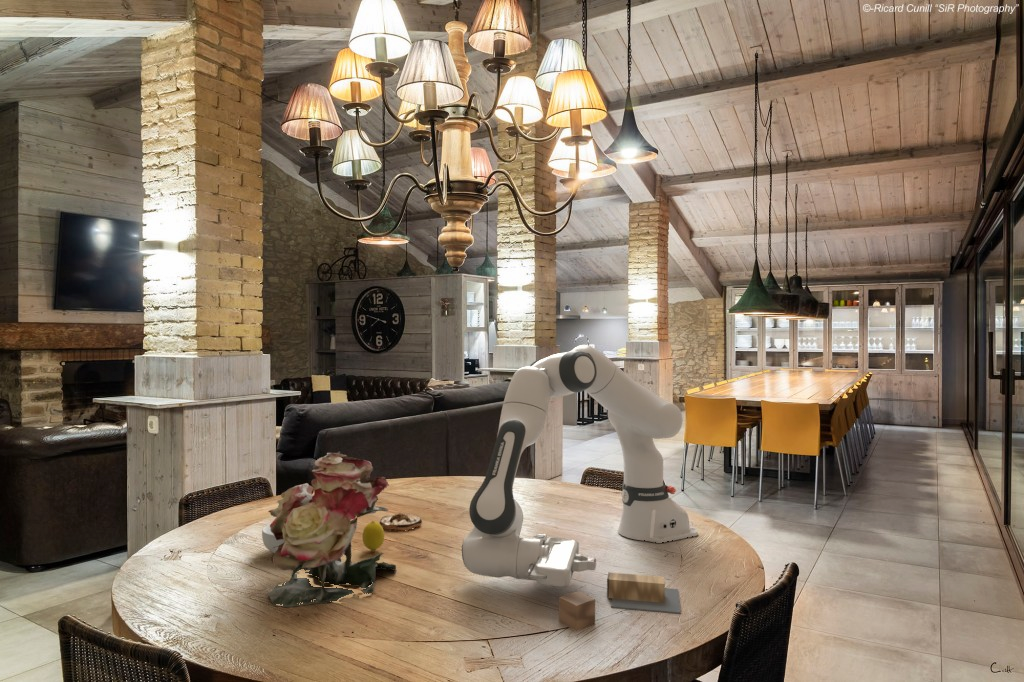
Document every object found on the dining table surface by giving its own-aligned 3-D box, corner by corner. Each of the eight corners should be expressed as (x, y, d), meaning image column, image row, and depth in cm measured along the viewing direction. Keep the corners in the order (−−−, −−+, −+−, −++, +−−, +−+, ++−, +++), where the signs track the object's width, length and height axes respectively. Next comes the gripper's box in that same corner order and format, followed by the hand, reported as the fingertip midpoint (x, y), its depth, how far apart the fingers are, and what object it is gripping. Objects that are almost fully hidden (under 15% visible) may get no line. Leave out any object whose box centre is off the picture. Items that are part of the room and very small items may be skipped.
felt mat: (611, 607, 131) (611, 606, 131) (613, 585, 143) (613, 583, 143) (680, 613, 128) (680, 612, 128) (677, 590, 140) (677, 589, 140)
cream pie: (424, 518, 197) (424, 504, 197) (427, 532, 182) (427, 518, 182) (375, 520, 194) (375, 507, 194) (375, 535, 179) (375, 521, 179)
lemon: (388, 549, 166) (388, 519, 166) (377, 556, 161) (377, 525, 161) (369, 547, 168) (369, 517, 168) (358, 553, 163) (358, 522, 163)
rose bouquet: (283, 565, 155) (283, 443, 155) (402, 566, 154) (402, 444, 154) (236, 610, 129) (236, 464, 129) (378, 612, 129) (378, 465, 129)
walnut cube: (577, 615, 127) (577, 590, 127) (594, 624, 123) (595, 599, 123) (558, 622, 124) (558, 597, 124) (576, 631, 120) (576, 605, 120)
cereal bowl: (344, 547, 168) (344, 521, 168) (298, 568, 152) (298, 539, 152) (295, 539, 175) (295, 513, 175) (247, 558, 160) (247, 530, 160)
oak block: (607, 579, 135) (664, 583, 132) (608, 572, 139) (664, 576, 136) (607, 597, 135) (664, 602, 133) (608, 590, 139) (664, 595, 136)
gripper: (524, 561, 130) (592, 566, 127) (540, 531, 150) (599, 535, 147) (524, 591, 130) (592, 597, 127) (540, 557, 150) (599, 562, 147)
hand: (595, 564), depth 137 cm, fingers closed
